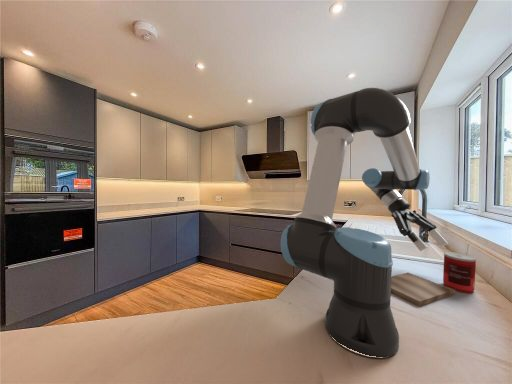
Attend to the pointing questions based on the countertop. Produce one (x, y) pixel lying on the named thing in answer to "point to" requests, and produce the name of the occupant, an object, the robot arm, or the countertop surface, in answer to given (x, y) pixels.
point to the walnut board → (418, 289)
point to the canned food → (459, 272)
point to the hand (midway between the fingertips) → (434, 247)
